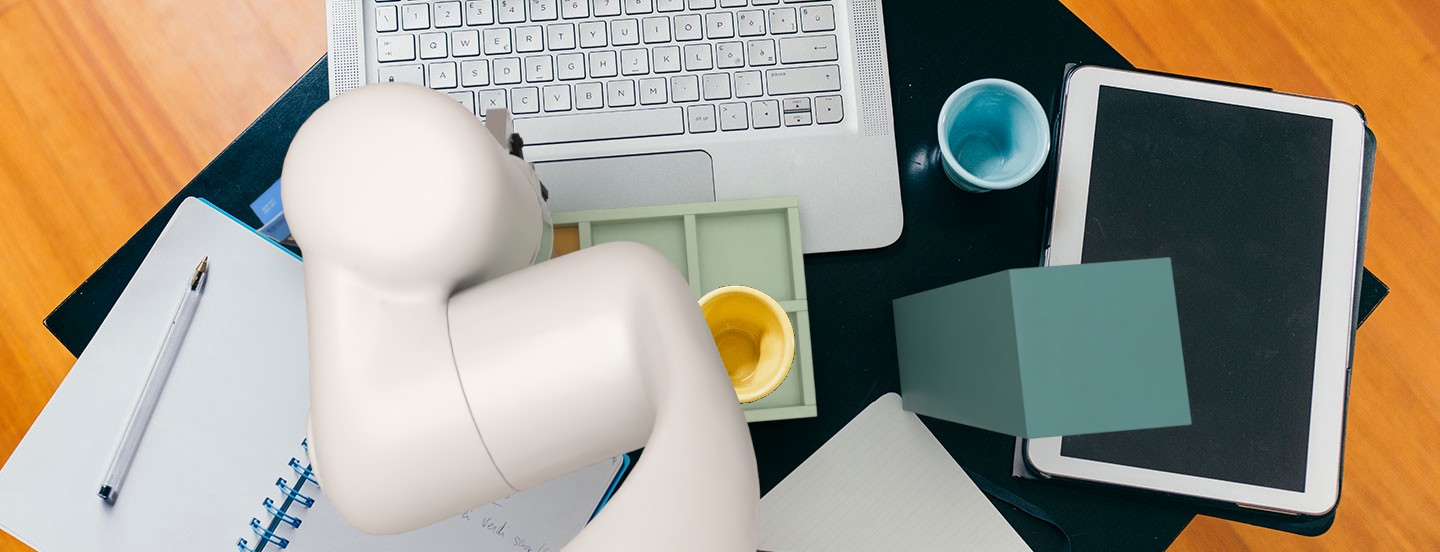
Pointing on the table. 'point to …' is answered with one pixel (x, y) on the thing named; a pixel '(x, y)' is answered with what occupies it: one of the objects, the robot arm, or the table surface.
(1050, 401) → the plinth
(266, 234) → the label tape box
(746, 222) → the grid
